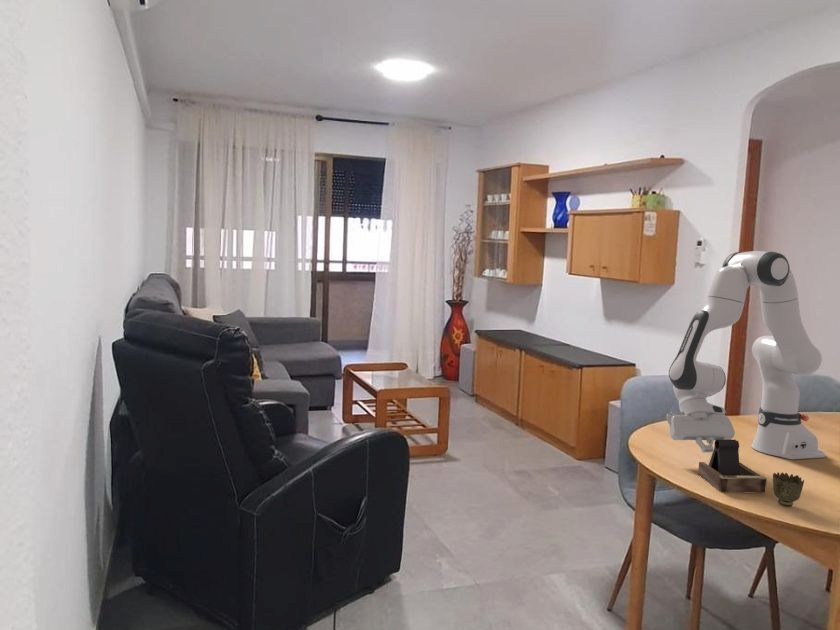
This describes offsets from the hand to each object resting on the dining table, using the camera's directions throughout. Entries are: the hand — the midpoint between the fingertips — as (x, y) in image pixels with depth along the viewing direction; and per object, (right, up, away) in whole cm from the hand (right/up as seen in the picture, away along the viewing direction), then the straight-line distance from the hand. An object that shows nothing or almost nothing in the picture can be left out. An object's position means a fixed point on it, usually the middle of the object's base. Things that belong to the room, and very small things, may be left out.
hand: (708, 451), depth 207 cm
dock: (+1, -6, -13) cm, 14 cm away
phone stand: (0, -6, -10) cm, 12 cm away
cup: (+9, -9, -28) cm, 31 cm away
